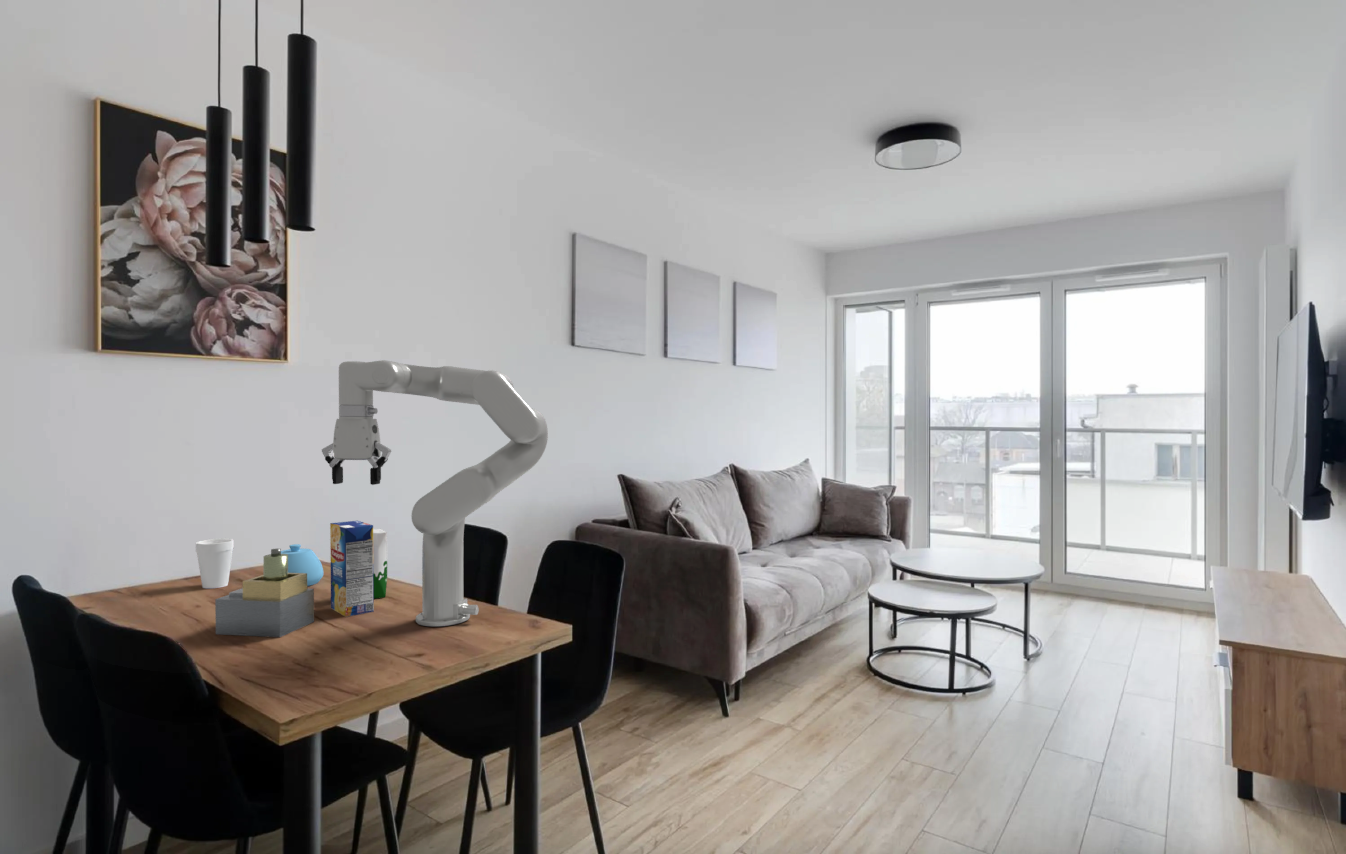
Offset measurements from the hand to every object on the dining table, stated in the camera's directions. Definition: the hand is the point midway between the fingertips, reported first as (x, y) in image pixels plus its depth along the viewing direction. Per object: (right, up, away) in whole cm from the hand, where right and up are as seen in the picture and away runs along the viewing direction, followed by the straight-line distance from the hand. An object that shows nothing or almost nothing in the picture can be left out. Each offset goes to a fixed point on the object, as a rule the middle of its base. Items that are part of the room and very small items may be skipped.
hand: (356, 483), depth 171 cm
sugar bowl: (-35, -33, +39) cm, 62 cm away
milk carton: (-7, -33, +24) cm, 41 cm away
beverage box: (-6, -33, +10) cm, 35 cm away
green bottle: (-16, -25, -5) cm, 31 cm away
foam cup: (-57, -33, +35) cm, 75 cm away
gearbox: (-19, -33, -5) cm, 39 cm away
